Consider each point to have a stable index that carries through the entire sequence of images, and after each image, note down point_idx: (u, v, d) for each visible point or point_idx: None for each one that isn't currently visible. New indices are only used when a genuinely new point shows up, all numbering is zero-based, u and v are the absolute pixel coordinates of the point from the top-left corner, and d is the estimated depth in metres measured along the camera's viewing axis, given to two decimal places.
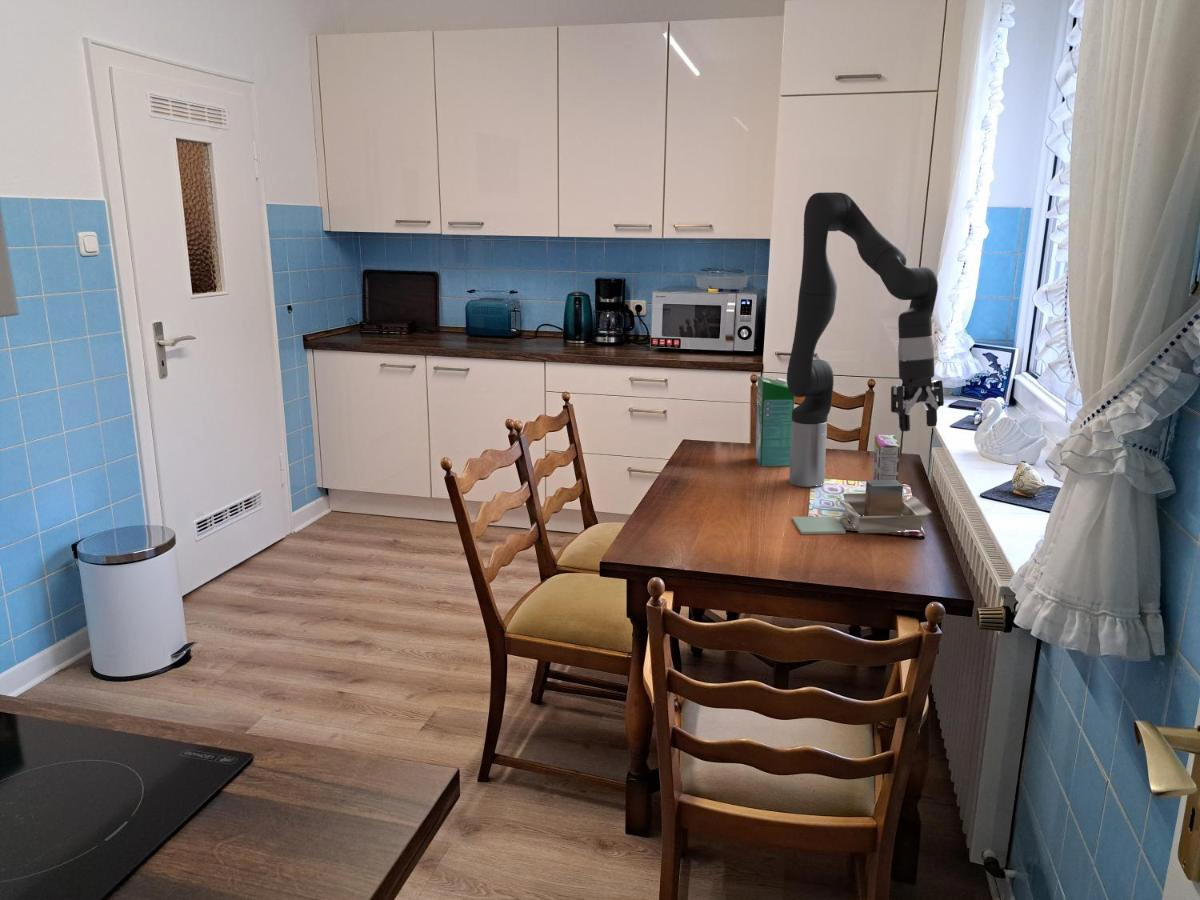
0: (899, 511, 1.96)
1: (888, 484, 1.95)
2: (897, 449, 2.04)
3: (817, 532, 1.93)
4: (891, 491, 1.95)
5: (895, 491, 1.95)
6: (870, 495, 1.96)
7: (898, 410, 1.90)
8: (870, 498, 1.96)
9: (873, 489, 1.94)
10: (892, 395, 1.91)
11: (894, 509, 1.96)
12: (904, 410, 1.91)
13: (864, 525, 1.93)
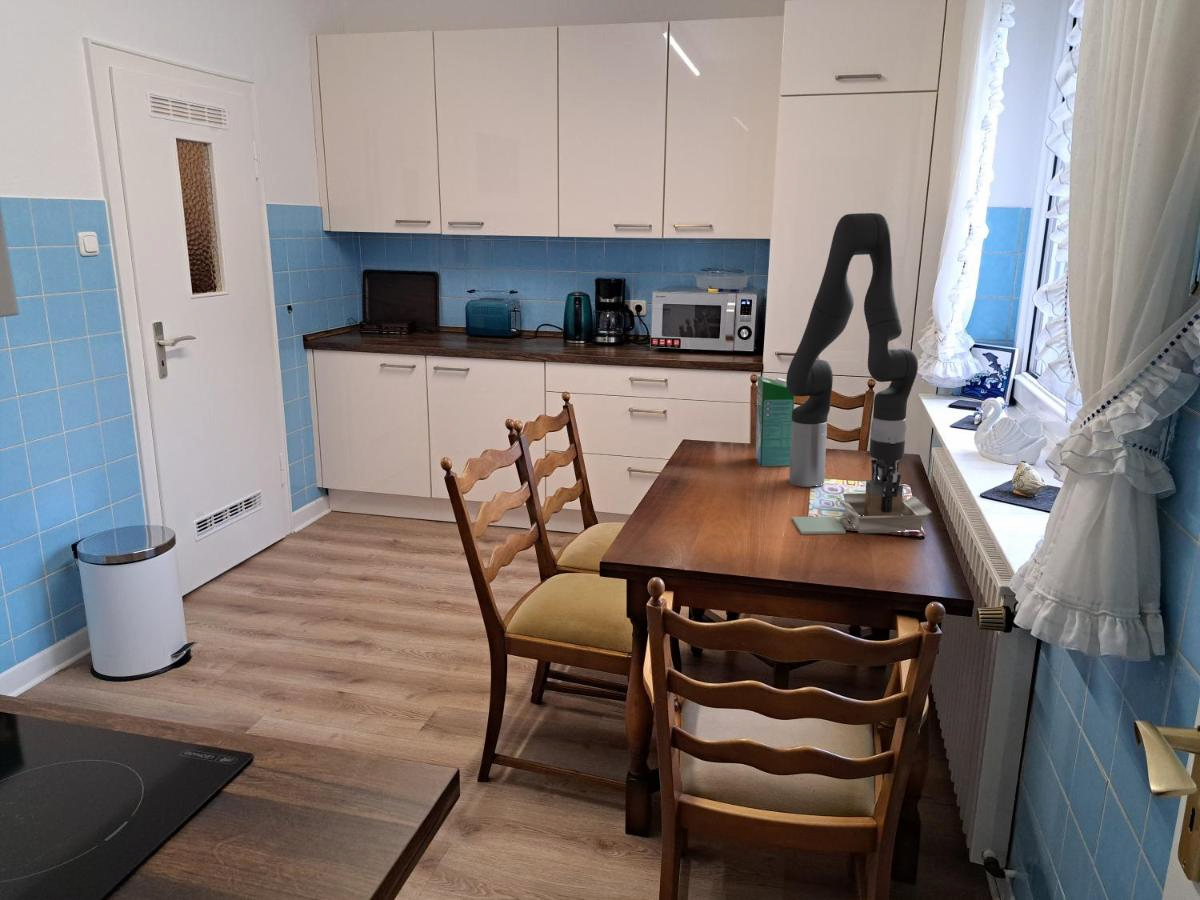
0: (899, 511, 1.96)
1: None
2: None
3: (817, 532, 1.93)
4: None
5: None
6: (870, 495, 1.96)
7: (895, 494, 1.91)
8: (870, 498, 1.96)
9: (873, 489, 1.94)
10: (890, 483, 1.90)
11: (894, 509, 1.96)
12: None
13: (864, 525, 1.93)
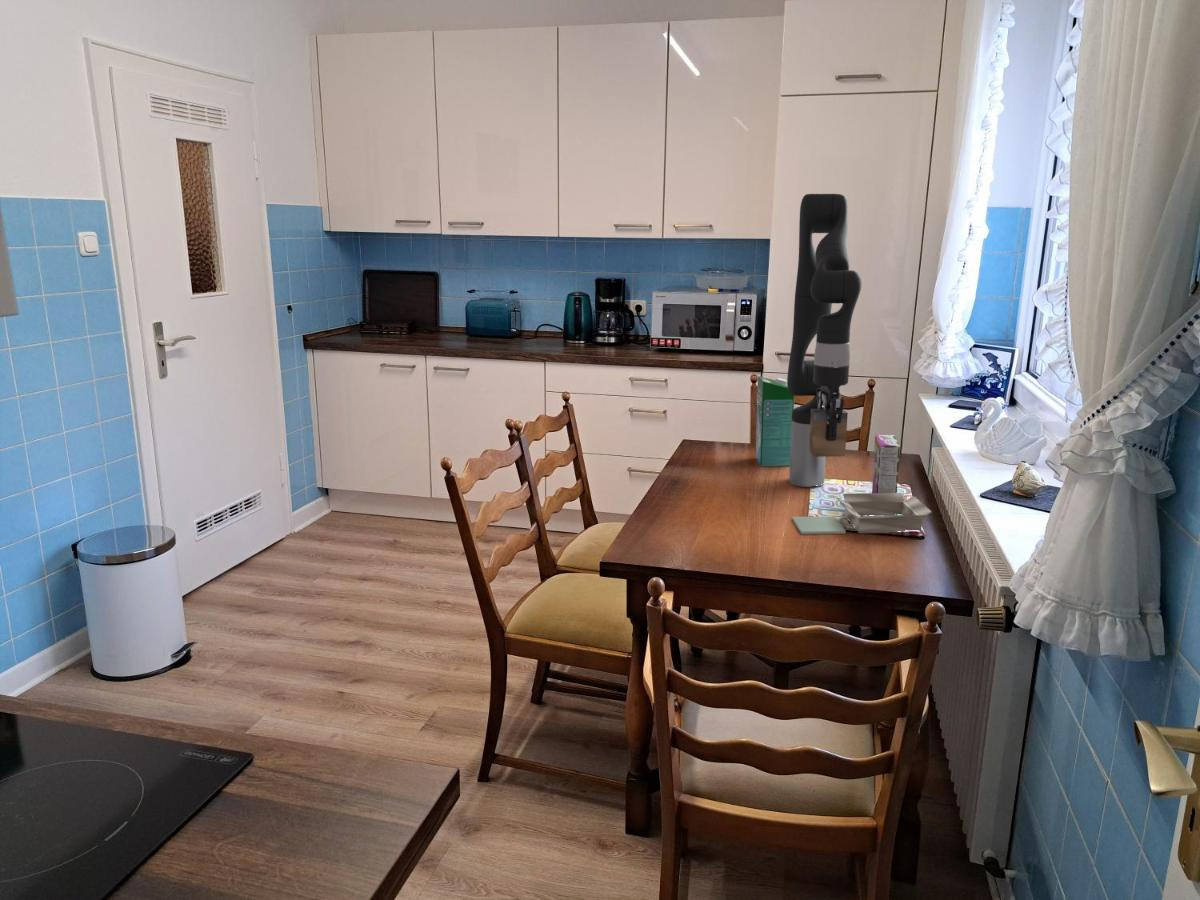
0: (844, 439, 1.91)
1: None
2: (897, 449, 2.04)
3: (817, 532, 1.93)
4: None
5: None
6: (814, 423, 1.91)
7: (839, 421, 1.86)
8: (814, 426, 1.90)
9: (817, 416, 1.89)
10: (833, 408, 1.85)
11: (838, 437, 1.90)
12: None
13: (864, 525, 1.93)
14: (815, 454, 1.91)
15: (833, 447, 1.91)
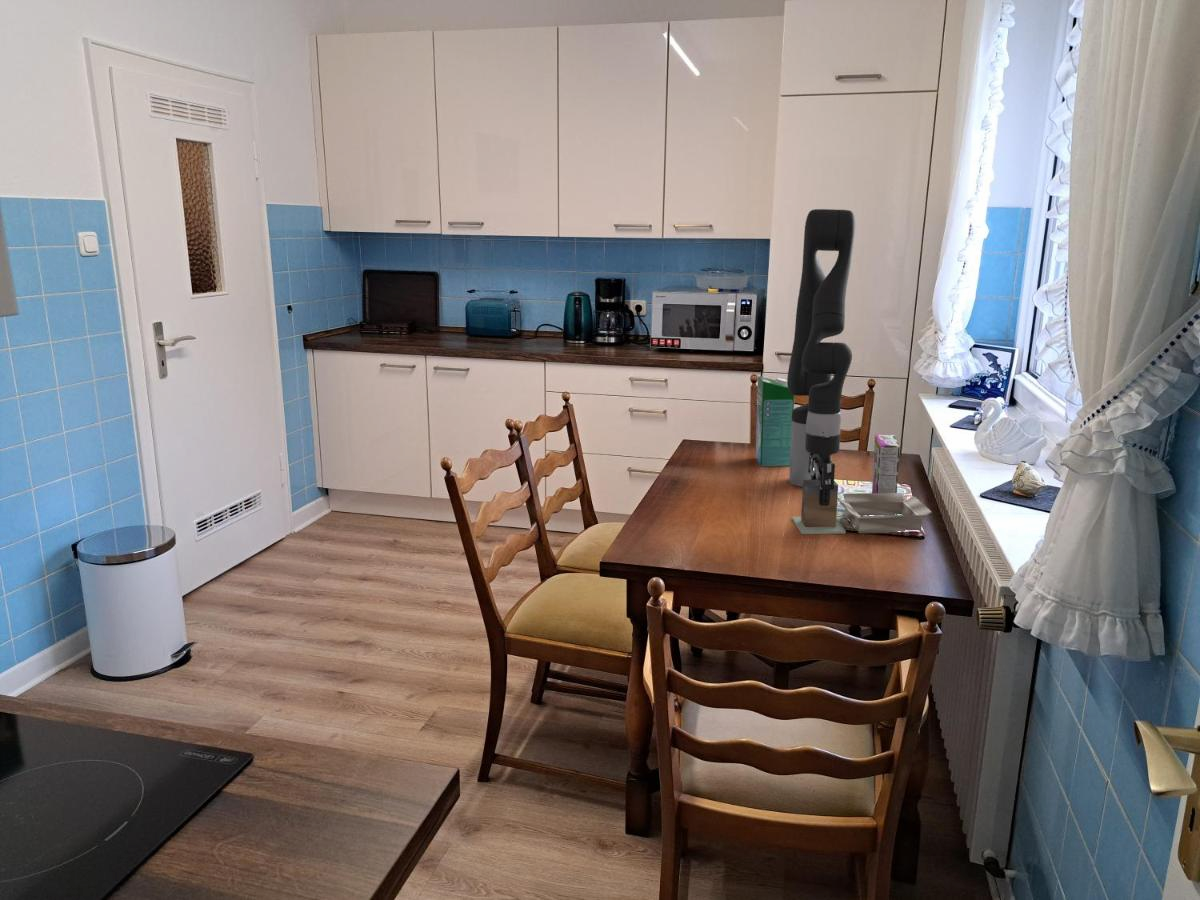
0: (835, 511, 1.95)
1: None
2: (897, 449, 2.04)
3: (817, 532, 1.93)
4: None
5: (830, 490, 1.94)
6: (805, 495, 1.95)
7: (832, 487, 1.88)
8: (806, 497, 1.95)
9: (808, 488, 1.94)
10: (825, 473, 1.88)
11: (829, 509, 1.95)
12: None
13: (864, 525, 1.93)
14: (806, 525, 1.96)
15: (824, 518, 1.95)
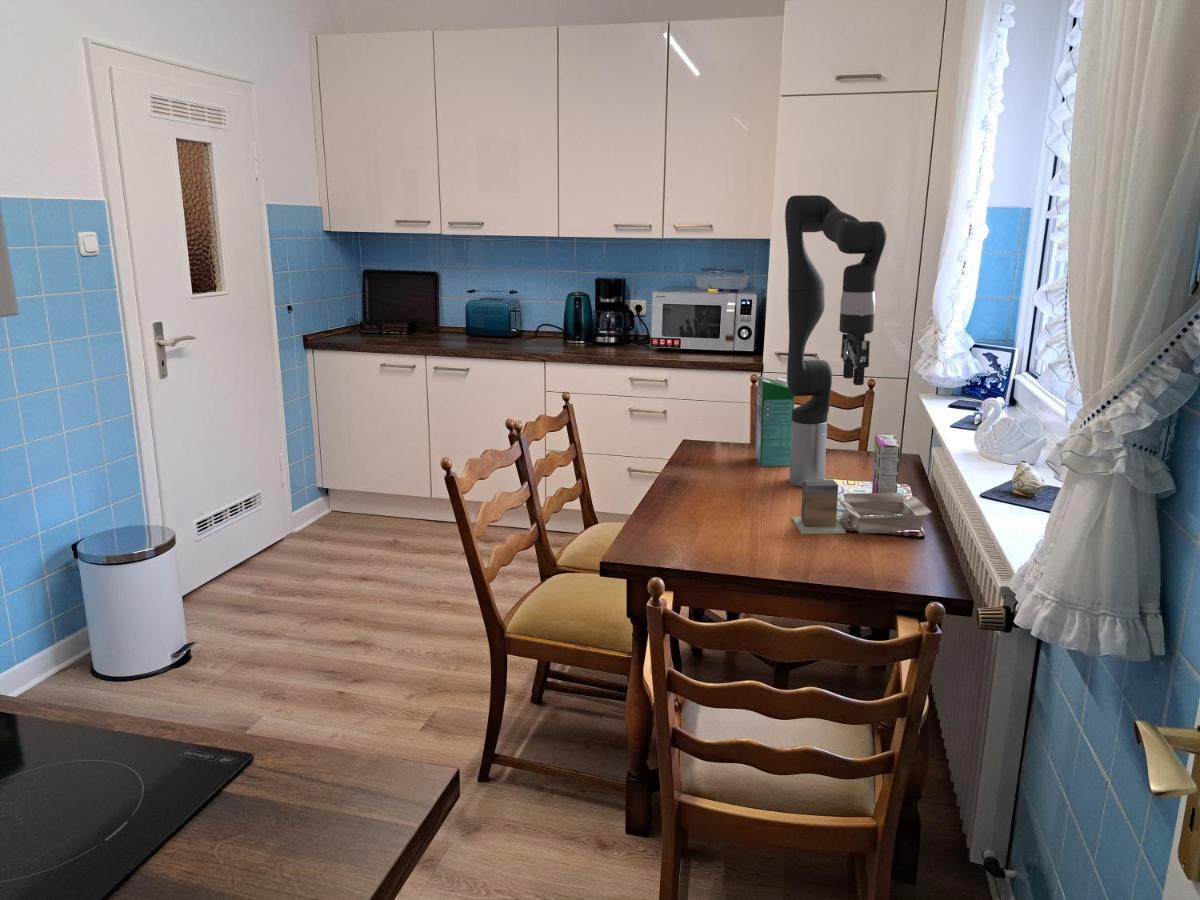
0: (835, 511, 1.95)
1: (823, 483, 1.94)
2: (897, 449, 2.04)
3: (817, 532, 1.93)
4: (826, 490, 1.94)
5: (830, 490, 1.94)
6: (805, 495, 1.95)
7: (867, 365, 1.91)
8: (806, 497, 1.95)
9: (808, 488, 1.94)
10: (860, 350, 1.91)
11: (829, 509, 1.95)
12: None
13: (864, 525, 1.93)
14: (806, 525, 1.96)
15: (824, 518, 1.95)
